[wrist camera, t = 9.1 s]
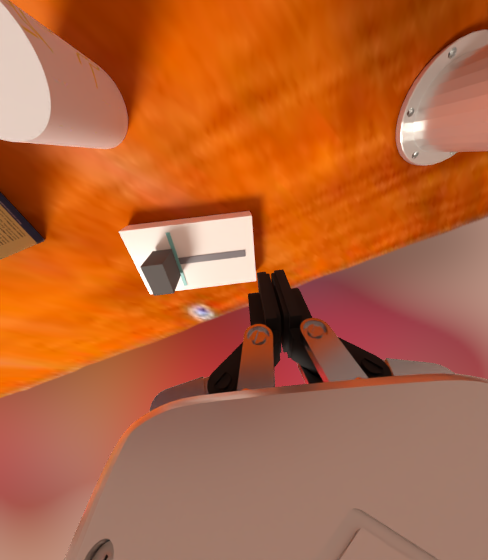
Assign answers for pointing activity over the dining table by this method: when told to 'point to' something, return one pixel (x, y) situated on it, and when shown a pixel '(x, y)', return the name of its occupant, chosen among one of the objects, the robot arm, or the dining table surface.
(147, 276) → the fader knob
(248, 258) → the fader console
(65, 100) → the white cylinder
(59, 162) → the dining table surface
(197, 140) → the dining table surface
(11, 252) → the protein box
